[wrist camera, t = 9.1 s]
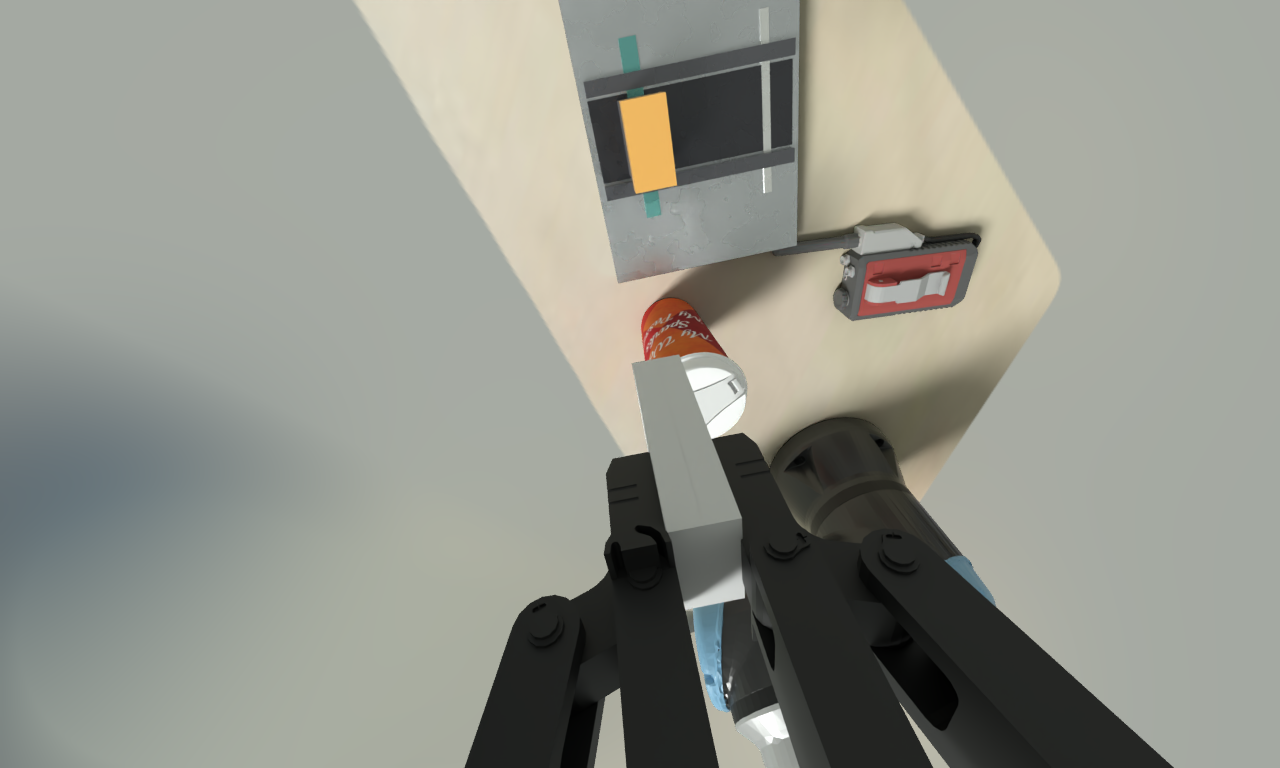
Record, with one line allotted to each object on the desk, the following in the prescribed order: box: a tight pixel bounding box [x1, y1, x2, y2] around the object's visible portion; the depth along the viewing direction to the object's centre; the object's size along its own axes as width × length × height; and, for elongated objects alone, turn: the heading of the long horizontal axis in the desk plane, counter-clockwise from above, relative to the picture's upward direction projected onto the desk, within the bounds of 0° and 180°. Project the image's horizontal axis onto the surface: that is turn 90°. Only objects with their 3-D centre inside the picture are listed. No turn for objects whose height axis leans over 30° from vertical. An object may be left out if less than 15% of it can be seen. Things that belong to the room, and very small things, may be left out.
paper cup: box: [641, 298, 747, 439], centre depth 41 cm, size 8×8×14 cm
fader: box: [617, 92, 677, 194], centre depth 33 cm, size 5×3×6 cm, turn 10°
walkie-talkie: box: [772, 223, 981, 321], centre depth 44 cm, size 9×4×20 cm
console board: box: [558, 0, 800, 283], centre depth 36 cm, size 22×16×3 cm
